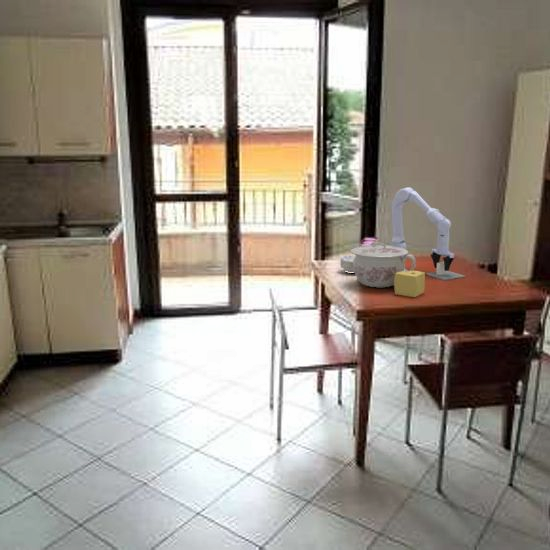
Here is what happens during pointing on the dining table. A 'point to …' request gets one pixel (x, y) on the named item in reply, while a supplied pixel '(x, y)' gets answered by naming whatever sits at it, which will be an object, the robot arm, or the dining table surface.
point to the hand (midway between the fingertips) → (441, 269)
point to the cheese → (409, 283)
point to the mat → (446, 275)
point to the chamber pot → (379, 264)
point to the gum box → (369, 241)
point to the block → (440, 269)
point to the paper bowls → (347, 263)
